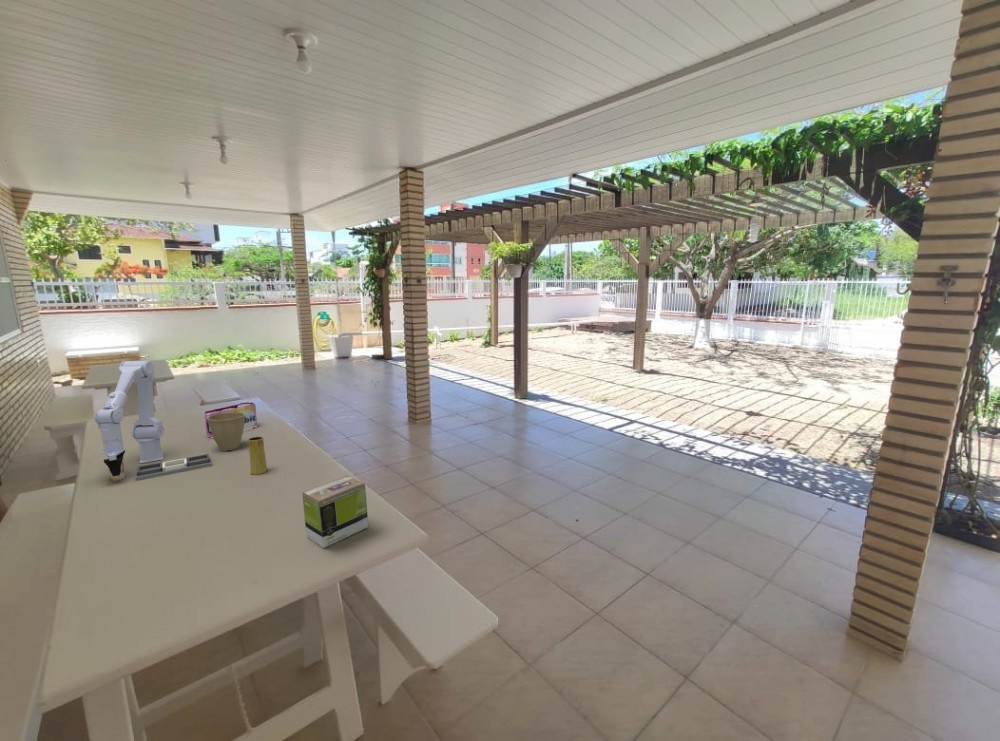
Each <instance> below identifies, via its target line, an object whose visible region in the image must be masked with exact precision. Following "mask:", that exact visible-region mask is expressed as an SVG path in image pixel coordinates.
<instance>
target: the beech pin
mask: <svg viewBox="0 0 1000 741" xmlns="http://www.w3.org/2000/svg"><path fill="white" fill-rule="evenodd" d="M108 469H109V468H108ZM109 475H110V476H109V478H110V481H111V482H119V481H123V480H125V479H126V478H127V477H126V470H125V463H124V462H123V461H122V463H121V472H120V475H119V476H112V474H111V472H110V469H109ZM122 479H123V480H122ZM118 480H119V481H118Z"/></svg>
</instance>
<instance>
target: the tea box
mask: <svg viewBox="0 0 1000 741" xmlns="http://www.w3.org/2000/svg"><path fill="white" fill-rule="evenodd" d="M302 502H303V513H304V523H305V524H304V525H305V533H306V537H307V538H308V539H310V541H312V542H314V543H315V544H317V545H318V546H320V547H321V548H323V549H325V548H327V547H329V546H331V545H333V544H336V543H338V542H340V541H342V540H344V539H346V538H348V537H350V536H352V535H355V534H356V533H359V532H361V531H363V530H366V529H368V528H369V516H368V506H367V504H368V503H367V493H366V484H365V482H363V481H361V480H357V479H355V478H353V477H350V476H348V475H346V476H343V477H339V478H337V479H334V480H332V481H329V482H326V483H323V484H321V485H318V486H316V487H312V488H310V489H308V490H305V491H302Z"/></svg>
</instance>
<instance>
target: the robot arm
mask: <svg viewBox="0 0 1000 741" xmlns="http://www.w3.org/2000/svg"><path fill="white" fill-rule="evenodd" d="M118 371H119V372H118V373H119V378H118V382H117V384H116V387H115V390H114V391H112V392H110V393H108V394H109V395H108V396H107V398H106V400H105V402H104V404H103V406H102V408H101V409H99V410H97V411H96V413H95V416H94V418H93V419H94V422H95V423H96V424H97V428H99V430H100V433H101V434H100V435H101V440H102V446H103V450H102V451H100V452H99V454H100V455H105V456H106V457H108V458H105V459H103V463H104V464H105V465H106V466H107V468H108V469H110V471H109V473H110V472H111V474H112V476H119V475H120V472H121V463H122V462H123V460H124V455H125V454H126V449H125V447H124V441H123V436H122V429H121V428H122V427H121V422H122V420H124V406H125V405H126V402H127V400H128V395H127V393H128V391H129V389H130V388H131V386H132V384H133V383H134V382H136V386H137V402H138V403H137V404H138V407H137V408H138V419H137V420H136V421H134V422H133V423H132V430H131V437H132V438H133V440H136V442H138V445H139V446H138V447H139V453H140V458H139V464H145V463H146V464H147V463H150V462H151V463H152V462H156V461H157V462H158V461H161V460H164V452H162V446H161V445H162V444H161V439H162V437H163V436H164V434H165V428H164V426H163V421H162V420H160V419H159V418H157V417H155V407H154V406H155V404H154V386H153V385H154V384H153V380H154V379H155V365H154V364H153V363H152V362H151V360H147V359H146V360H123V361H121V362H120V364H119V367H118Z"/></svg>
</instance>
